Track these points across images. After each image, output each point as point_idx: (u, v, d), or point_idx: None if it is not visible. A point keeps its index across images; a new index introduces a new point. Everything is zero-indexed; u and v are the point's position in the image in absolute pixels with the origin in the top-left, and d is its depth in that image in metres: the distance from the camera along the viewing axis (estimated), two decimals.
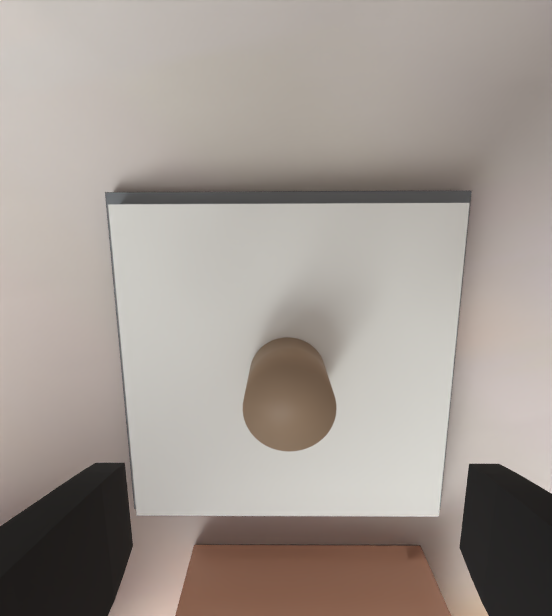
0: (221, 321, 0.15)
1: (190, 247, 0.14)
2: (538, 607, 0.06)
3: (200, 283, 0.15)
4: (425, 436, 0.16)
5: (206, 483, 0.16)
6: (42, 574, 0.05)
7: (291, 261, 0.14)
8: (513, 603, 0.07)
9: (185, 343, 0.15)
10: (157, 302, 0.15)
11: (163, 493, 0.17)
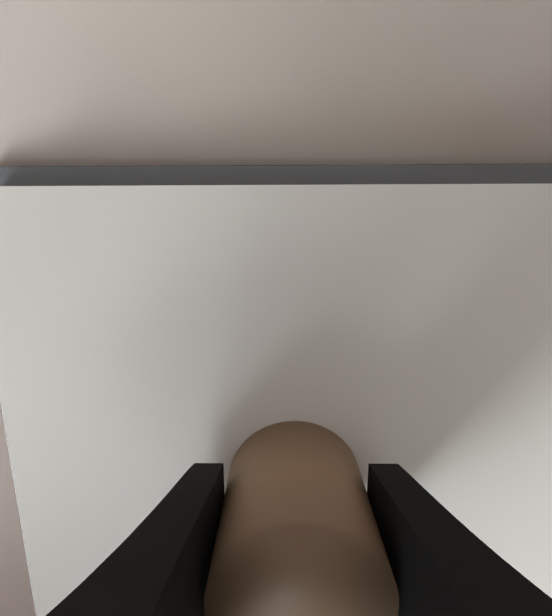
0: (178, 394, 0.08)
1: (118, 265, 0.08)
2: (404, 606, 0.06)
3: (139, 329, 0.08)
4: None
5: None
6: (187, 575, 0.05)
7: (302, 290, 0.08)
8: None
9: (116, 430, 0.09)
10: (65, 361, 0.08)
11: None
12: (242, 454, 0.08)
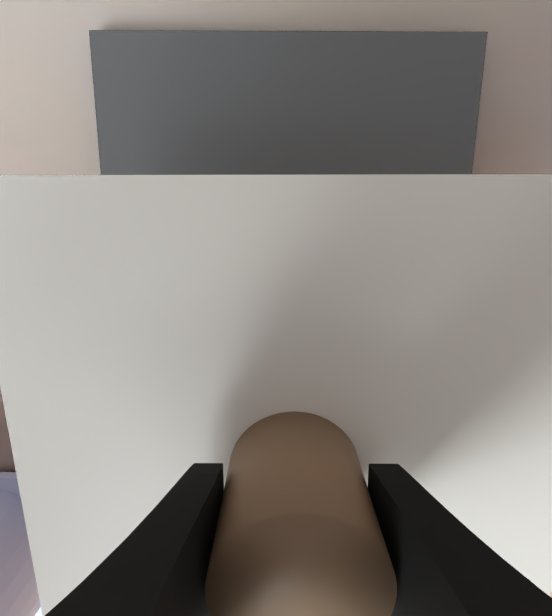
0: (179, 385, 0.09)
1: (118, 255, 0.08)
2: (404, 606, 0.06)
3: (139, 319, 0.08)
4: (521, 567, 0.10)
5: None
6: (186, 575, 0.05)
7: (302, 281, 0.08)
8: None
9: (117, 420, 0.09)
10: (65, 352, 0.08)
11: None
12: (242, 444, 0.08)
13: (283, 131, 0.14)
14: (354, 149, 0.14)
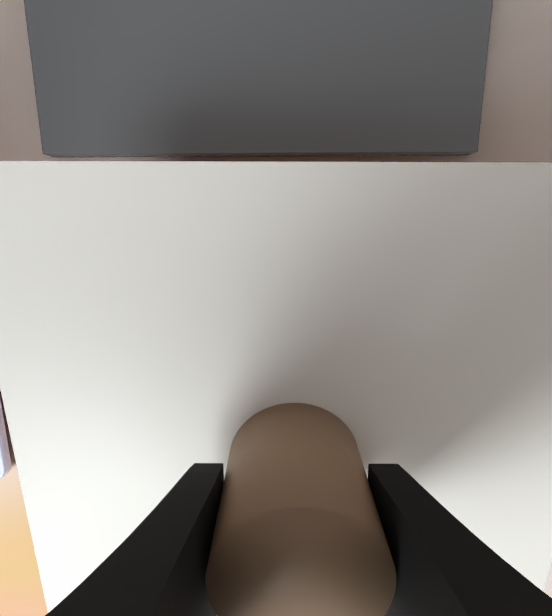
0: (178, 376, 0.08)
1: (115, 244, 0.08)
2: (404, 606, 0.06)
3: (138, 309, 0.08)
4: (517, 555, 0.10)
5: None
6: (186, 575, 0.05)
7: (304, 272, 0.08)
8: None
9: (116, 411, 0.09)
10: (63, 342, 0.08)
11: None
12: (242, 435, 0.08)
13: None
14: None
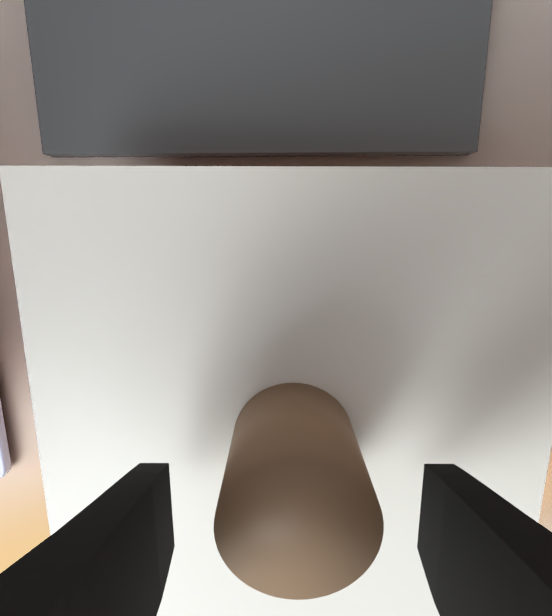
0: (188, 357, 0.09)
1: (136, 237, 0.09)
2: (478, 607, 0.06)
3: (154, 296, 0.09)
4: None
5: (168, 596, 0.11)
6: (106, 574, 0.05)
7: (301, 262, 0.09)
8: (459, 603, 0.07)
9: (131, 390, 0.10)
10: (86, 326, 0.09)
11: None
12: (246, 411, 0.09)
13: None
14: None
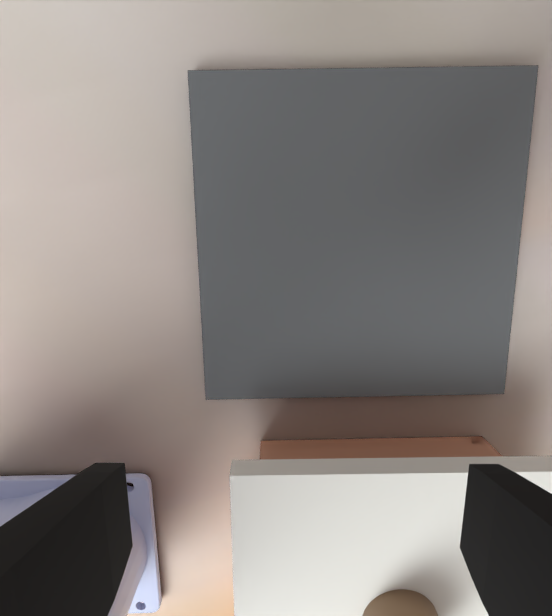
0: (336, 576, 0.15)
1: (309, 511, 0.14)
2: (538, 607, 0.06)
3: (317, 543, 0.15)
4: None
5: None
6: (42, 574, 0.05)
7: (409, 523, 0.14)
8: (513, 603, 0.06)
9: (299, 596, 0.15)
10: (273, 560, 0.15)
11: None
12: (375, 613, 0.15)
13: (359, 155, 0.16)
14: (422, 169, 0.16)
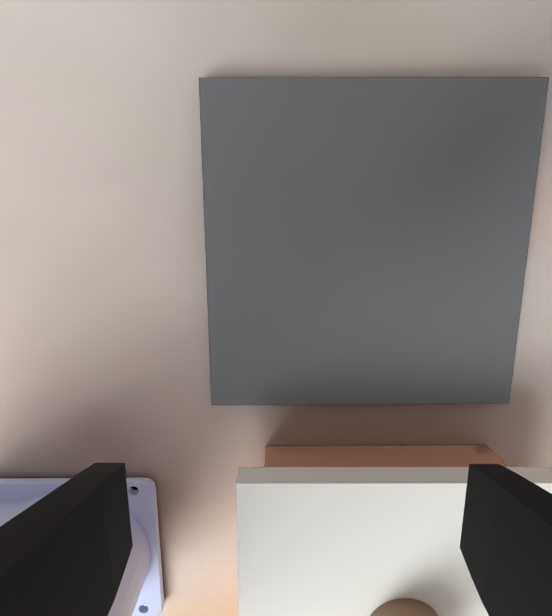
0: (340, 584, 0.15)
1: (315, 520, 0.14)
2: (538, 607, 0.06)
3: (322, 551, 0.15)
4: None
5: None
6: (42, 574, 0.05)
7: (414, 532, 0.15)
8: (513, 603, 0.07)
9: (303, 603, 0.15)
10: (278, 568, 0.15)
11: None
12: None
13: (368, 164, 0.16)
14: (431, 179, 0.16)
